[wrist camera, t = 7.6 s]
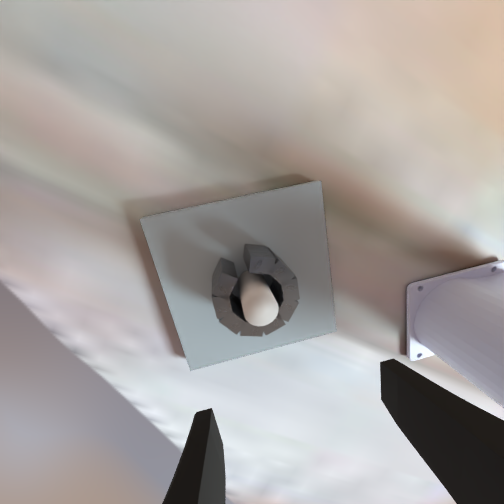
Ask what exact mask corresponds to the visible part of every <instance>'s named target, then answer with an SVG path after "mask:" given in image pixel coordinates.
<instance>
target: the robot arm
mask: <svg viewBox="0 0 504 504" xmlns="http://www.w3.org/2000/svg"><path fill="white" fill-rule="evenodd" d="M419 286H420V287H419ZM418 287H419V289H418ZM432 355H437V356H438V357H439V358H440V359H442V360H443V361H444V362H445V363H447V364H448V365H449V366H451V367H452V368H453V369H454V370H456V371H457V372H458V373H459V374H461V375H462V376H463V377H465V378H466V379H467V380H468V381H470V382H471V383H472V384H473V385H475V386H476V387H477V388H479V389H480V390H481V391H482V392H484V393H485V394H486V395H487V396H489V397H490V398H491V399H493V400H494V401H495V402H496V403H498V404H499V405H500V406H501V407H503V408H504V261H503V260H499V261H495V262H492V263H488V264H484V265H480V266H476V267H472V268H468V269H464V270H461V271H457V272H453V273H449V274H445V275H441V276H437V277H434V278H430V279H426V280H422V281H418V282H414V283H411V284H409V285H408V287H407V357H408V358H409V359H410V360H411V361H415V360H418V359H422V358H425V357H429V356H432ZM380 371H381V400H382V401H383V403H384V404H385V406H386V408H387V409H388V411H389V413H390V414H391V416H392V417H393V419H394V421H395V422H396V424H397V425H398V427H399V428H400V429H401V431H402V432H403V433H404V435H405V436H406V437H407V439H408V440H409V441H410V443H411V444H412V445H413V447H414V448H415V449H416V450H417V452H418V453H419V454H420V456H421V457H422V458H423V460H424V461H425V462H426V463H427V465H428V466H429V467H430V469H431V470H432V471H433V473H434V474H435V475H436V476H437V478H438V479H439V480H440V482H441V483H442V484H443V486H444V487H445V488H446V489H447V491H448V492H449V494H450V495H451V496H452V498H453V499H454V501H455V502H456V503H457V504H504V420H502V419H500V418H498V417H496V416H494V415H492V414H490V413H488V412H486V411H484V410H482V409H480V408H478V407H477V406H475V405H473V404H471V403H469V402H467V401H465V400H464V399H462V398H460V397H458V396H456V395H455V394H453V393H451V392H449V391H448V390H446V389H444V388H442V387H441V386H439V385H437V384H435V383H434V382H432V381H430V380H429V379H427V378H425V377H424V376H422V375H420V374H419V373H417V372H415V371H414V370H412V369H410V368H409V367H407V366H405V365H404V364H402V363H400V362H399V361H397V360H395V359H390V360H387V361H383V362H380ZM162 504H225V463H224V450H223V443H222V439H221V436H220V433H219V430H218V426H217V423H216V420H215V417H214V413H213V410H212V408H210V409H207V410H203V411H199V412H197V413H196V414H195V416H194V419H193V423H192V426H191V429H190V432H189V435H188V438H187V441H186V444H185V447H184V450H183V453H182V456H181V458H180V461H179V464H178V466H177V469H176V472H175V474H174V477H173V479H172V482H171V485H170V487H169V489H168V492H167V494H166V497H165V499H164V501H163V503H162Z"/></svg>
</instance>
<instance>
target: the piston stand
mask: <svg viewBox="0 0 504 504" xmlns="http://www.w3.org/2000/svg"><path fill="white" fill-rule="evenodd" d="M139 220H140V223H141V226H142V228H143V231H144V234H145V237H146V240H147V243H148V246H149V249H150V252H151V255H152V258H153V261H154V264H155V267H156V270H157V273H158V276H159V279H160V282H161V285H162V288H163V291H164V294H165V297H166V300H167V303H168V306H169V309H170V312H171V315H172V318H173V321H174V324H175V327H176V330H177V332H178V335H179V338H180V341H181V344H182V347H183V350H184V353H185V356H186V359H187V362H188V365H189V368H190V371H192V370H195V369H199V368H203V367H207V366H210V365H214V364H218V363H221V362H225V361H229V360H233V359H236V358H240V357H244V356H247V355H251V354H255V353H259V352H262V351H266V350H270V349H273V348H277V347H281V346H285V345H288V344H292V343H296V342H299V341H303V340H307V339H311V338H314V337H318V336H322V335H325V334H329V333H333V332H337V329H336V320H335V310H334V300H333V291H332V281H331V271H330V262H329V252H328V242H327V232H326V223H325V213H324V203H323V194H322V184H321V181H311V182H306V183H301V184H297V185H292V186H287V187H282V188H278V189H273V190H268V191H264V192H259V193H254V194H249V195H245V196H240V197H235V198H230V199H226V200H221V201H216V202H211V203H207V204H202V205H197V206H193V207H188V208H183V209H178V210H174V211H169V212H164V213H159V214H155V215H150V216H145V217H143V218H141V219H139ZM245 244H255V245H265V246H266V247H267V248H268V247H269V248H270V249H271V250H272V251H273V252H274V253H275V254H276V255H278V256H279V257H280V258H281V259H282V260H283V261H284V262H285V264H286V265H287V266H288V267H289V268H290V269H291V271H292V272H293V273H294V274H295V276H296V278H297V281H298V289H299V297H300V299H299V300H297V301H298V302H299V304H298V306H297V308H296V309H295V311H294V313H293V315H292V317H291V318H290V320H289V322H287V321H284V322H285V324H286V325H284V326H283V327H281V328H279V329H277V330H275V331H274V332H272V333H270V334H268V335H265V333H264V332H263V336H262V337H258V336H240V334H239V333H238V334H237V335H236V334H235V333H233V332H232V331H231V330H229V329H228V328H226V327H225V326H224V325H222V324H221V323H220V322H219V319H217V317H216V313H215V309H214V305H213V301H212V275H213V272H214V270H215V268H216V266H217V264H218V262H219V260H220V257H222V258H224V259H227V260H229V261H232V262H234V265H235V269H236V273H237V277H238V280H237V282H236V284H235V286H234V288H233V290H232V292H231V293H233V294H234V295H235V296H236V297H238V298H239V299H241V304H242V308H243V312H244V316H245V319H246V320H247V321H248V322H249V323H250V324H252V325H254V326H265V325H268V324H270V323H271V322H272V321H273V320H274V319H275V318H276V317H277V314H278V310H279V308H278V304H277V302H276V300H275V298H274V296H273V294H272V292H271V290H270V288H269V287H270V285H271V283H272V282H273V280H272V276H271V275H270V274H257V273H249V272H248V269H247V267H246V264H245V261H244V259H243V253H244V246H245Z"/></svg>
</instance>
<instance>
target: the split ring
mask: <svg viewBox="0 0 504 504" xmlns="http://www.w3.org/2000/svg"><path fill="white" fill-rule="evenodd" d="M243 259H244V261H245V264H246V267H247V269H248V272H249V273H257V274H270V275H271V276H272V280H273V282H272V283H271V285H270V287H269V288H270V290H271V292H272V294H273V296H274V298H275V300H276V302H277V304H278V308H279V310H278V314H277V317H276V318H275V319H274V320H273V321H272V322H271V323H270V324H268V325H265V326H254V325H252V324H250V323H249V322H248V321H247V320H246V319H245V316H244V312H243V308H242V304H241V299H239V298H238V297H236V296H235V295H234V294H233V293H231V292H232V290H233V288H234V286H235V284H236V282H237V280H238V277H237V273H236V269H235V265H234V262H232V261H229V260H227V259H224V258H222V257H220V260H219V262H218V264H217V266H216V268H215V270H214V272H213V275H212V301H213V305H214V309H215V313H216V317H217V319H219V322H220V323H221V324H222V325H224V326H225V327H226V328H228V329H229V330H231V331H232V332H233V333H235V334H236V335H237V334H238V333H239V334H240V336H258V337H262V336H263V332H264V333H265V335H268V334H270V333H272V332H274V331H275V330H277V329H279V328H281V327H283V326H284V325H286V324H285V322H284V321H287V322H289V320H290V318H291V317H292V315H293V313H294V311H295V309H296V308H297V306H298V304H299V302H298V301H297V300H299V299H300V297H299V289H298V281H297V278H296V276H295V274H294V273H293V272H292V271H291V269H290V268H289V267H288V266H287V265H286V264H285V262H284V261H283V260H282V259H281V258H280V257H279V256H278V255H276V254H275V253H274V252H273V251H272V250H271V249H270V248H269V247H268V248H267V247H266V246H265V245H255V244H245V246H244V253H243Z"/></svg>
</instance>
